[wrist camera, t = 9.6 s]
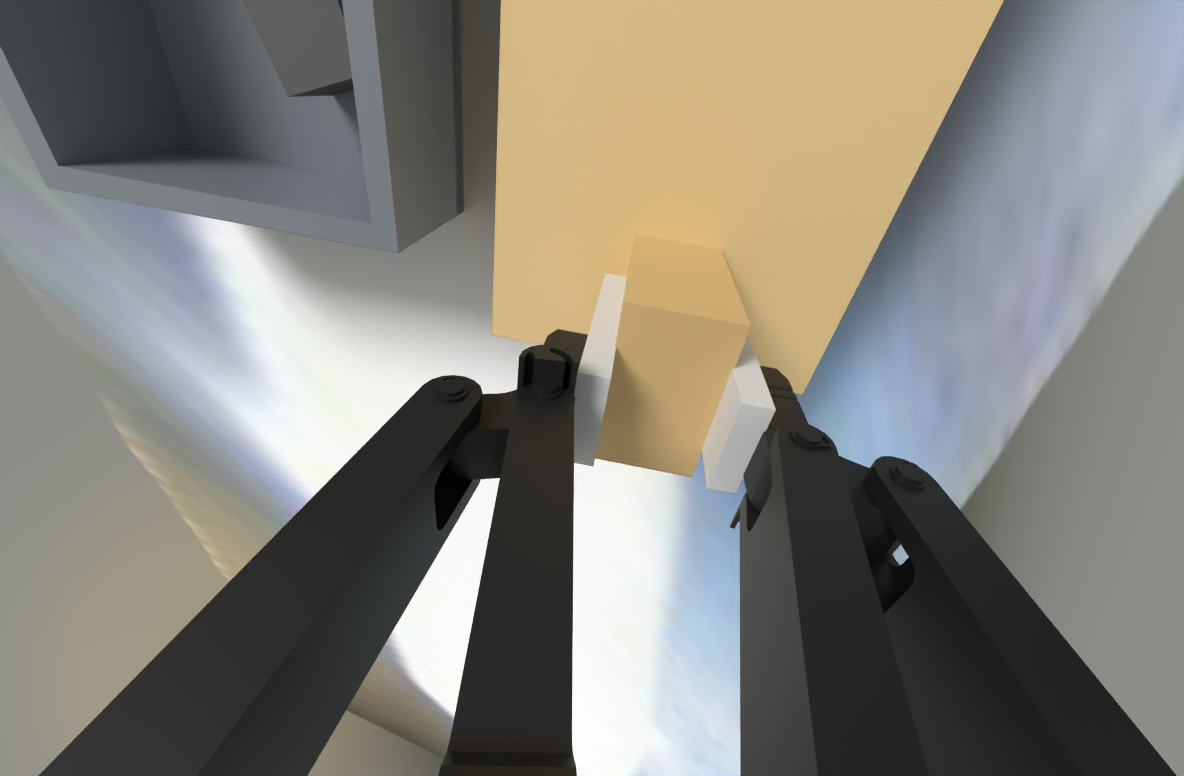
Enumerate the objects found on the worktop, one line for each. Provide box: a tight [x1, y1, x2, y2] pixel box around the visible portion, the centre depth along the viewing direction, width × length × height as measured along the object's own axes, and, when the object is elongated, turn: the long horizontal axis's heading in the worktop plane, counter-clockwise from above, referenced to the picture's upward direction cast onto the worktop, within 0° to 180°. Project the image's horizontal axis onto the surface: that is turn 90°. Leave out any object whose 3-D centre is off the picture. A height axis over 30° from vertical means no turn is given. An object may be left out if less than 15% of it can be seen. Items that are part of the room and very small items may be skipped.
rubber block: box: [243, 0, 354, 97], centre depth 15 cm, size 4×3×2 cm
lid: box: [492, 0, 1004, 477], centre depth 11 cm, size 19×13×8 cm
